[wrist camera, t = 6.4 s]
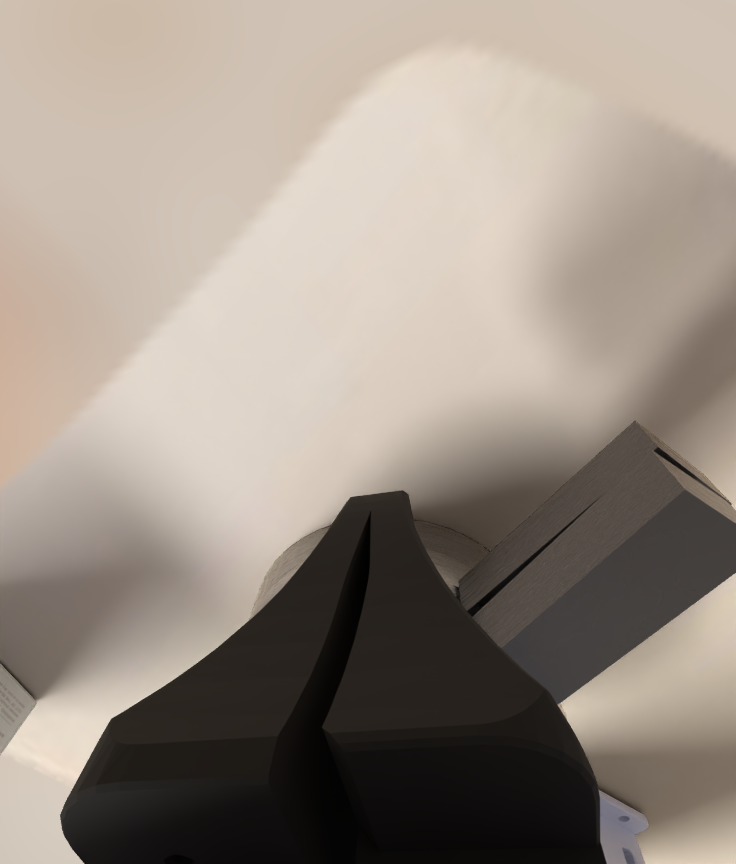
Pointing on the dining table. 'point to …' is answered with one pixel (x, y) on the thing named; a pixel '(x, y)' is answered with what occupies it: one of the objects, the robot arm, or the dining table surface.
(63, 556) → the dining table surface
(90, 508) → the dining table surface
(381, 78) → the dining table surface
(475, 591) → the pot
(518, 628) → the lid
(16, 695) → the supplement box
